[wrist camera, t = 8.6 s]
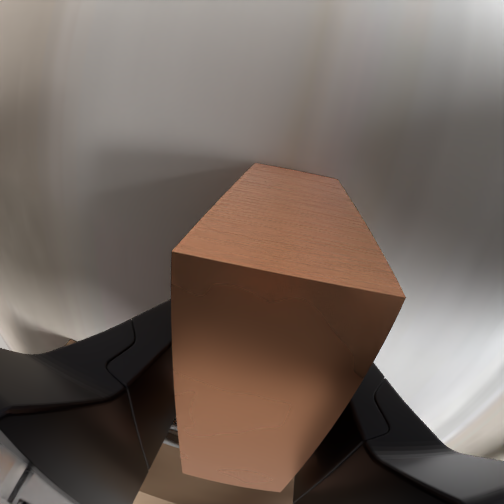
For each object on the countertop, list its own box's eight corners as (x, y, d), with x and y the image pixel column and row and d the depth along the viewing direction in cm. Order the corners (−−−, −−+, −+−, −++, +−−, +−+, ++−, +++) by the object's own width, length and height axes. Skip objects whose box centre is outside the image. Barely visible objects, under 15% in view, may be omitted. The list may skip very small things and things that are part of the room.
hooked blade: (337, 179, 8) (406, 297, 3) (238, 486, 19) (225, 546, 13) (152, 149, 8) (-10, 210, 3) (172, 470, 19) (152, 527, 14)
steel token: (219, 432, 15) (216, 443, 14) (212, 458, 17) (209, 466, 16) (149, 411, 15) (144, 420, 15) (153, 439, 17) (149, 448, 17)
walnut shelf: (417, 418, 12) (434, 513, 7) (334, 490, 17) (331, 551, 12) (70, 339, 13) (8, 417, 8) (107, 438, 18) (79, 492, 13)
